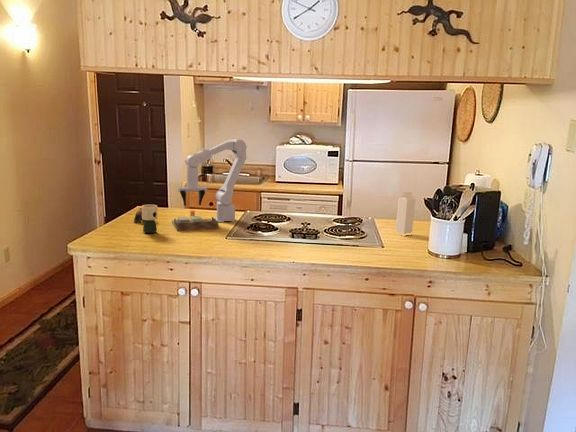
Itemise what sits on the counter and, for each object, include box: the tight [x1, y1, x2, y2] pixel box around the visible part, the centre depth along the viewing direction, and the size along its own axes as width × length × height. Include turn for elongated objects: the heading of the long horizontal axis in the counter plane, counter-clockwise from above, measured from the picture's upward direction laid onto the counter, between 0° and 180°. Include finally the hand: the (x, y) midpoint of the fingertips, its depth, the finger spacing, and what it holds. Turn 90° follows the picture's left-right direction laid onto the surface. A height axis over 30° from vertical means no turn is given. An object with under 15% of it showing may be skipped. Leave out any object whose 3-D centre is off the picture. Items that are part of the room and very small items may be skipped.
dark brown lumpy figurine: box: [133, 207, 145, 225], centre depth 257 cm, size 12×10×8 cm
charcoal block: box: [177, 216, 190, 223], centre depth 249 cm, size 5×6×4 cm
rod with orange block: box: [189, 209, 203, 222], centre depth 254 cm, size 5×14×5 cm, turn 21°
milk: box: [395, 191, 416, 234], centre depth 253 cm, size 6×6×22 cm
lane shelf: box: [171, 216, 220, 232], centre depth 255 cm, size 20×18×4 cm
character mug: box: [141, 204, 158, 234], centre depth 237 cm, size 11×7×13 cm, turn 0°
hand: (192, 205), depth 259 cm, fingers open, 7 cm apart
